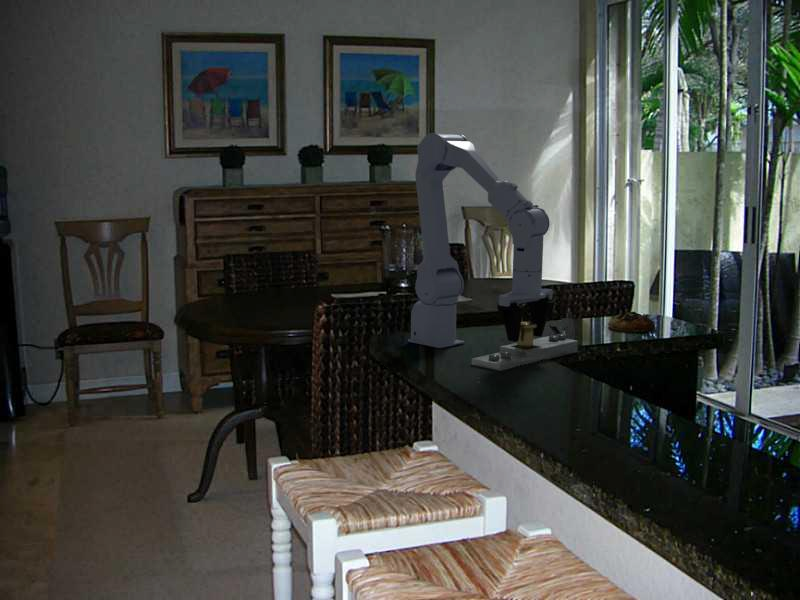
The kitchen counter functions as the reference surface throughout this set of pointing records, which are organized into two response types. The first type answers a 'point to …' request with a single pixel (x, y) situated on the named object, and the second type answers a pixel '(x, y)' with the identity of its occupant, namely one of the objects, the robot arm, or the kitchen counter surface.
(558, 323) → the caliper
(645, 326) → the bread roll
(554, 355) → the right chain end
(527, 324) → the pin
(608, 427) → the kitchen counter surface
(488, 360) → the square window plate
